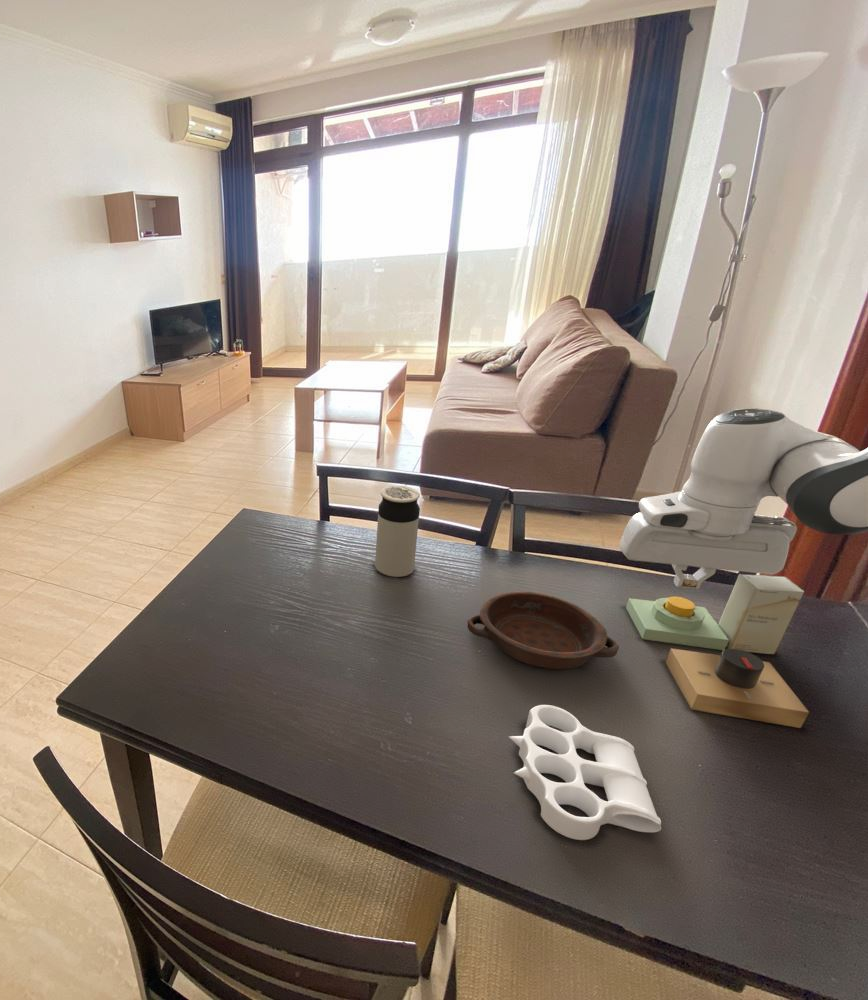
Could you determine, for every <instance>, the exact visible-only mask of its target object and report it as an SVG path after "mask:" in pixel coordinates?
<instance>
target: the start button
mask: <svg viewBox="0 0 868 1000" xmlns="http://www.w3.org/2000/svg"><path fill="white" fill-rule="evenodd" d="M667 598H668V600H667V602H666V605H665V609H666V610H667V611H669V612H670V613H672V614H675V615H678V616H683V617H691V616H692V614H693V612H694V609H695V606H696V605H695V603H694V602H693V601H691V600H689V599H688V598H685V597H680V596H670V597H667Z"/></svg>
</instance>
